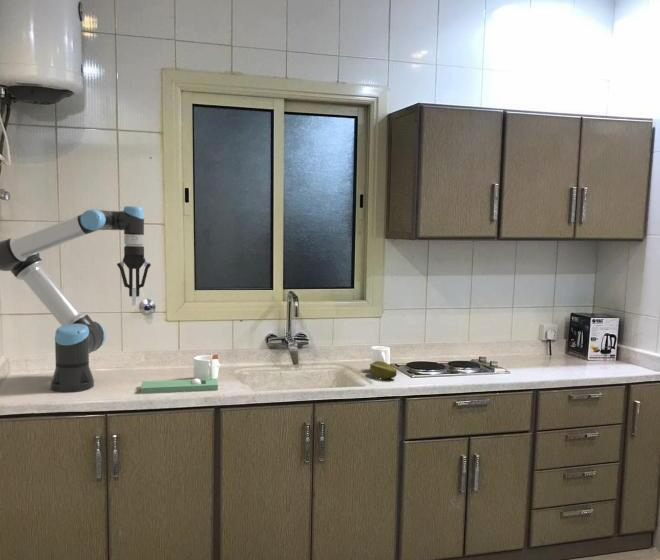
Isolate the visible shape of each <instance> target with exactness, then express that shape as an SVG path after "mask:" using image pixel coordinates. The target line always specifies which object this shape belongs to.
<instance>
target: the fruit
mask: <svg viewBox="0 0 660 560" xmlns="http://www.w3.org/2000/svg"><path fill="white" fill-rule="evenodd" d="M369 365H370V367H369V370H370V373H371V375H372V376H373V377H374V378H376V377H377V378H376V379H378V378H381V379H380V380H387V379H394V378H395V377H397V369H395V367H393V366H392V365H391V364H390V365H389V364H387V363H385V362H381V361H376V362H374V363H372V364H371V363H370V364H369Z"/></svg>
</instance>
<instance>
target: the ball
mask: <svg viewBox="0 0 660 560" xmlns="http://www.w3.org/2000/svg"><path fill="white" fill-rule="evenodd" d="M192 379H193V380H192V383H191V384H201V381H200V380H199V379H197V378H196V379H194V378H192Z"/></svg>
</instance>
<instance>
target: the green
mask: <svg viewBox="0 0 660 560" xmlns="http://www.w3.org/2000/svg"><path fill="white" fill-rule="evenodd" d="M212 359H218V360H219V354H210V379H199V380H200V381H201V384H191V383H192V380H193V379H194V378H192V379H172V380H171V379H169V380H149V381H148V380H147V381H142V382H141V387H140V394H156V393H157V394H158V392H159V393H160V392H161V393H162V392H163V393H177V392H178V393H181V392H183V393H184V391H185V392H204V391H206V390H207V391H218V390H219V384H218V382H217V381H218V380H217V379H212ZM207 391H206V392H207Z"/></svg>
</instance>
